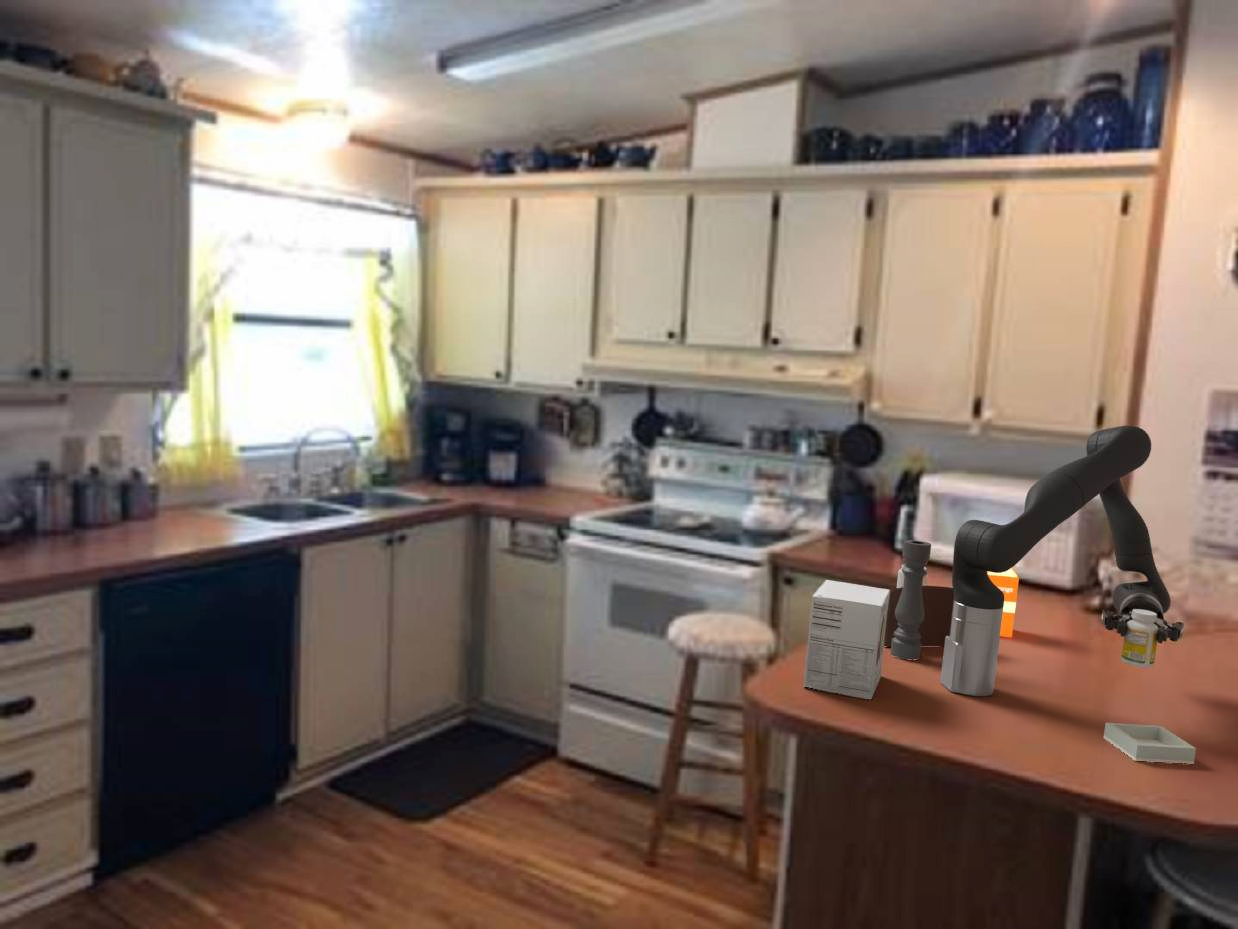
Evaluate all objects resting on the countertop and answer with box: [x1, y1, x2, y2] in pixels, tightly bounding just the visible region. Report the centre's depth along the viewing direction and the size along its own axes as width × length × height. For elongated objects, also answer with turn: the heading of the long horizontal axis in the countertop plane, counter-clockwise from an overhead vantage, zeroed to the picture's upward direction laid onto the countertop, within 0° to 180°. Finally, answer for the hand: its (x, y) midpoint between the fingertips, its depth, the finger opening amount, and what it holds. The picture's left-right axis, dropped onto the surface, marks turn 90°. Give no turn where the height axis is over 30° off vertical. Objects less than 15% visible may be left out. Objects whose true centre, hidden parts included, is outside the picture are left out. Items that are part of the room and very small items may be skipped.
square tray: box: [1103, 722, 1197, 765], centre depth 171 cm, size 10×10×3 cm
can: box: [896, 563, 930, 588], centre depth 257 cm, size 8×8×12 cm
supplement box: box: [803, 579, 891, 701], centre depth 196 cm, size 17×13×18 cm
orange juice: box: [987, 566, 1020, 638], centre depth 244 cm, size 8×9×20 cm
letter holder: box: [884, 585, 954, 646], centre depth 230 cm, size 10×20×14 cm, turn 105°
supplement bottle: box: [1120, 609, 1159, 669], centre depth 182 cm, size 5×5×10 cm
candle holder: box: [889, 539, 932, 660], centre depth 216 cm, size 6×6×25 cm
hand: (1142, 634), depth 179 cm, fingers closed on supplement bottle, 5 cm apart
